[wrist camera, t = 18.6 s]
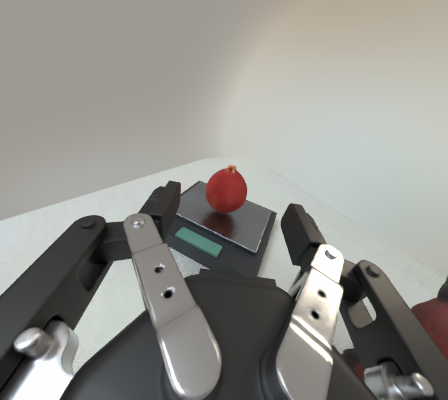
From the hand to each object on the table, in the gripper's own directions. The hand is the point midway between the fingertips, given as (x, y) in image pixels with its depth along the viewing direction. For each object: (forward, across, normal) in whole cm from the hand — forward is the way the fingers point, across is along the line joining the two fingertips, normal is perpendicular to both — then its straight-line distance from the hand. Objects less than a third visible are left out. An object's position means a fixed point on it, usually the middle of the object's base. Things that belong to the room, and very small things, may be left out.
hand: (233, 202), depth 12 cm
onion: (+10, 0, +10) cm, 14 cm away
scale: (+10, 0, +13) cm, 16 cm away
